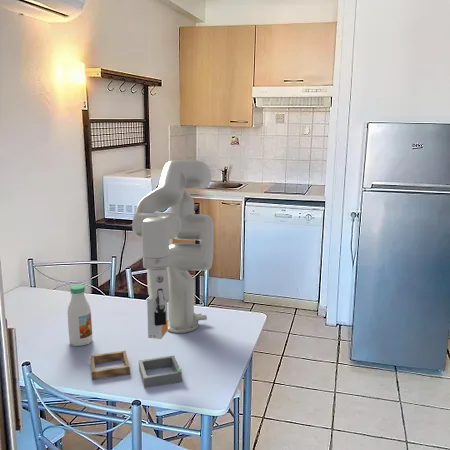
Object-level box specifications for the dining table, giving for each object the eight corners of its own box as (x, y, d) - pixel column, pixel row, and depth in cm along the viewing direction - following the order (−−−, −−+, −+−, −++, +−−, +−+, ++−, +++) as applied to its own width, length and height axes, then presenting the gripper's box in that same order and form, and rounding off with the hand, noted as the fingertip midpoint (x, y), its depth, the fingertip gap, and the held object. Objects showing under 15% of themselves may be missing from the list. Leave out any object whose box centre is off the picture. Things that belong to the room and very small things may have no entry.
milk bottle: (71, 348, 162) (67, 292, 158) (67, 339, 169) (63, 285, 165) (94, 343, 166) (91, 288, 161) (90, 335, 172) (86, 281, 168)
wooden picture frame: (125, 357, 156) (125, 350, 155) (129, 374, 146) (129, 366, 145) (90, 362, 153) (90, 355, 152) (92, 380, 142) (91, 372, 142)
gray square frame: (174, 364, 152) (174, 352, 151) (182, 381, 141) (182, 369, 140) (139, 369, 148) (138, 357, 147) (144, 388, 138) (143, 375, 137)
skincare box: (161, 339, 138) (160, 300, 136) (147, 338, 139) (146, 299, 137) (168, 331, 144) (167, 293, 142) (154, 329, 145) (153, 292, 143)
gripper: (175, 268, 130) (176, 329, 134) (163, 252, 147) (165, 307, 150) (147, 270, 128) (149, 333, 132) (138, 254, 144) (140, 310, 148)
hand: (157, 319), depth 141 cm, fingers closed on skincare box, 7 cm apart
